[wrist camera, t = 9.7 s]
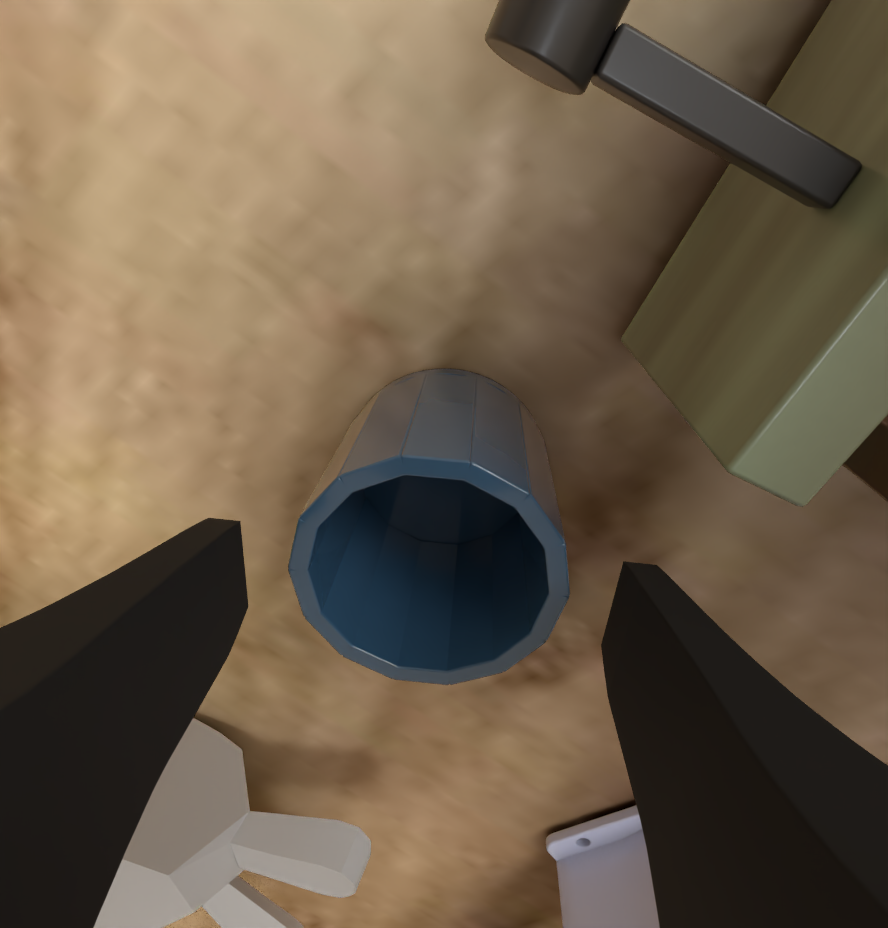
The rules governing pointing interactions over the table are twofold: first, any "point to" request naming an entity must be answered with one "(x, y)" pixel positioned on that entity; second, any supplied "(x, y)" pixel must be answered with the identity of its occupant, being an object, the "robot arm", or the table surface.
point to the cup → (434, 534)
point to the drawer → (757, 237)
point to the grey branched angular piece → (223, 847)
